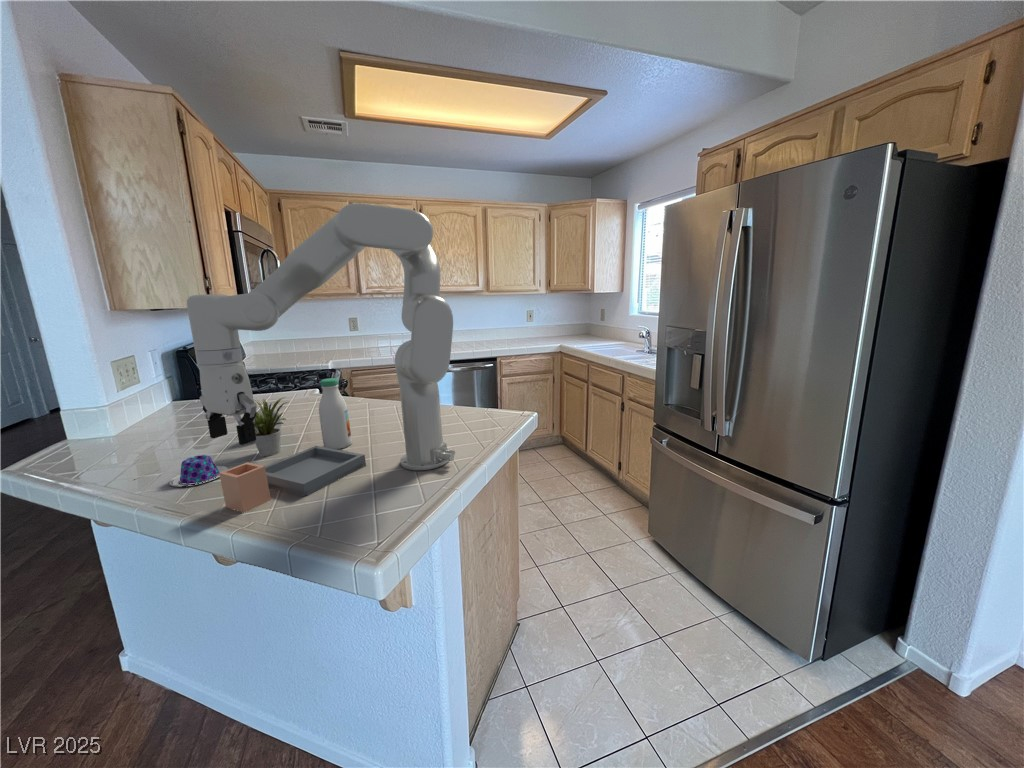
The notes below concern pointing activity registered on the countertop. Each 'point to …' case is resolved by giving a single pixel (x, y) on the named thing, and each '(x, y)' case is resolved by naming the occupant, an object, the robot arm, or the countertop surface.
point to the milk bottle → (334, 416)
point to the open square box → (245, 486)
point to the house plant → (268, 429)
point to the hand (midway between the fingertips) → (233, 439)
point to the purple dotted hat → (198, 470)
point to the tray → (312, 469)
